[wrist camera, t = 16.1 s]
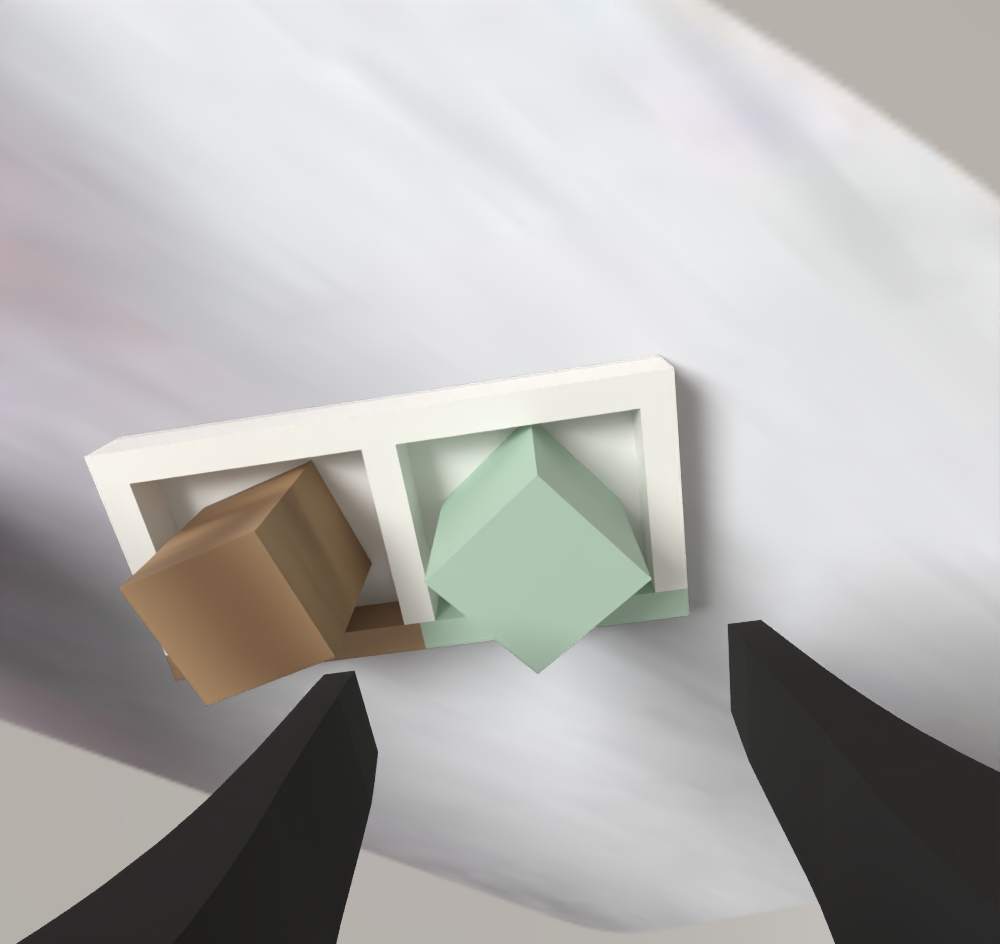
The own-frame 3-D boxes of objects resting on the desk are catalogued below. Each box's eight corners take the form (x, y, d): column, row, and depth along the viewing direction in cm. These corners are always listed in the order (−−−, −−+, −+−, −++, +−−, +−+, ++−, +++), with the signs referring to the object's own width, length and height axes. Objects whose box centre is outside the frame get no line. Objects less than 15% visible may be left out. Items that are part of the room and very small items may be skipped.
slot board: (200, 645, 24) (175, 680, 22) (120, 436, 21) (84, 456, 19) (674, 584, 22) (689, 615, 21) (659, 354, 20) (674, 367, 18)
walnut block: (269, 604, 22) (206, 705, 18) (204, 507, 21) (118, 589, 16) (372, 563, 22) (335, 656, 17) (311, 460, 20) (254, 531, 16)
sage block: (442, 501, 21) (424, 582, 16) (529, 415, 20) (536, 475, 15) (530, 577, 22) (537, 674, 17) (619, 498, 21) (651, 578, 16)
